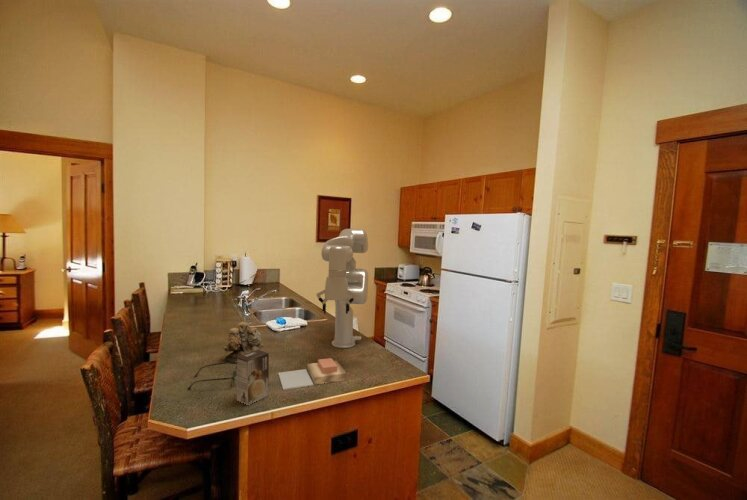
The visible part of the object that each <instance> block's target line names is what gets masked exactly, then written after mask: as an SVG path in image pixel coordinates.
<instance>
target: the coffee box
mask: <svg viewBox="0 0 747 500" xmlns="http://www.w3.org/2000/svg"><path fill="white" fill-rule="evenodd" d="M259 350H260V349H259ZM259 350H256V351H253V352H250V353H247V354H244V355H241V356H239V357H237V364H236V366H237V373H236V401H237V402H238V401H239V402H238V403H240V402H241V404H243V403H244V404H243V405H245V404H246V405H245V406H247V405H249V406H250V404H251V405H252V403H253V404H255V403H257V402H259V401H261V400H262V399H264V398H265V399H266V398H267V397H268V396H269V392H270V391H269V389H270V387H269V385H270V384H269V382H270V381H269V379H270V378H269V373H270V371H269V369H270V368H269V366H270V364H269V363H270V362H269V358H270V357H269V355H270V354H269V352H266V351H262V350H260V351H259ZM256 401H257V402H256ZM254 402H255V403H254Z"/></svg>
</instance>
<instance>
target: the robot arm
mask: <svg viewBox="0 0 747 500" xmlns="http://www.w3.org/2000/svg"><path fill="white" fill-rule="evenodd" d="M368 249H369V241H368V235H367V232H366V231H365V229H362V228H360V229H359V228H345V229H343V230H341V231H340V233H339V235H338V236H337V237H334V238H331V239H328V240H326V241H325V243H324V244H323V246H322V249H321V259H322V260H323V261H325V262H328V273H327V275H328V276H326V279H325V285H324V289H323V290H322V291H319V292H317V293H316V297H317V299H318V300H319V302H320V303H321V304H322V309H321V310H322V311H321V312H323V314H327V313H326V312H327V304H326V303H327V302H328V301H334V303H335V304H334V308H335V310H334V311H335V312H334V313H335V318H334V320H335V322H334V339H333V340H332V341H331V345H332V346H333V347H335V348H339V349H347V348H348V349H349V348H353V347H354V346H356V341H362V336H360V335H359V336H358V335H354V334H353V333H354V332H353V331H354V310H353V309H352V306H351V305H364V304H366V303H367V301H368V293H369V292H368V290H369V272H368V271H367V270H366V269H364V268H356V267H357V261H356V259H355V258H354V254H365V253H367V252H368ZM322 295H324V298H322Z"/></svg>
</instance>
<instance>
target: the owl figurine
mask: <svg viewBox="0 0 747 500" xmlns="http://www.w3.org/2000/svg"><path fill="white" fill-rule="evenodd" d="M261 335H262V334H261V333H260V332H259V330H258V328H257V327H251V328H249V329H248V323H246V322H245V321H241V322H239V323H238V324H237V325H236V327H232V328H230V329H229V331H228V337H227V344H225V345H224V346H223V347H222V349H223V350H224V352H231V353H229V354H228V355H226V356H225V358H224V361H225V362H231V361H237V357H239V356H241V355H244V354H247V353H250V352H253V351H256V350H259V351H261V349H262V348H263V347H264V346H265V345H264V343H262V336H261ZM230 364H232V365H233V364H234V365H235V364H236V365H237V363H230Z"/></svg>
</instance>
